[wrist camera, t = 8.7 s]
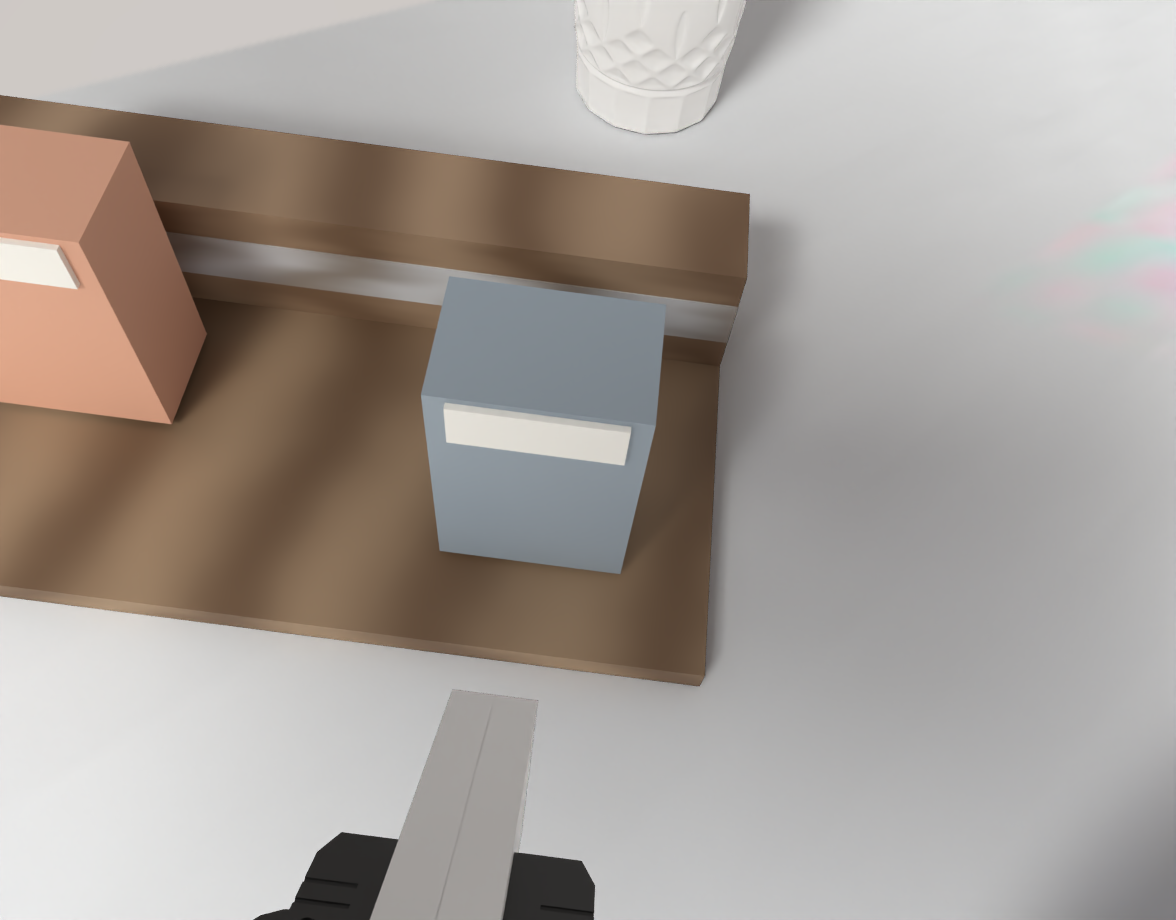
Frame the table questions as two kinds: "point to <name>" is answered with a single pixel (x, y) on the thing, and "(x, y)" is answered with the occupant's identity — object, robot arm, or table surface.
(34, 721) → the table surface
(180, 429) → the wooden display shelf
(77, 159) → the salmon orange box
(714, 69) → the white cup
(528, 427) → the blue gray box
